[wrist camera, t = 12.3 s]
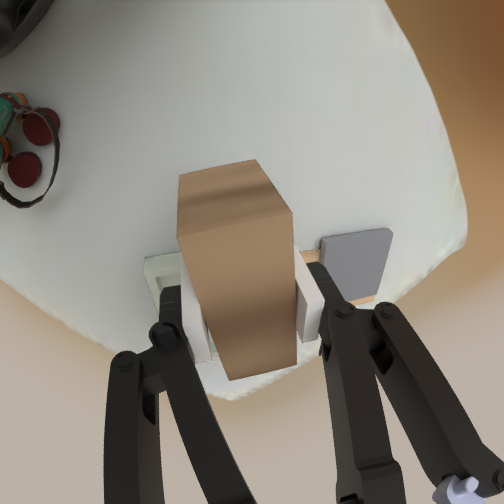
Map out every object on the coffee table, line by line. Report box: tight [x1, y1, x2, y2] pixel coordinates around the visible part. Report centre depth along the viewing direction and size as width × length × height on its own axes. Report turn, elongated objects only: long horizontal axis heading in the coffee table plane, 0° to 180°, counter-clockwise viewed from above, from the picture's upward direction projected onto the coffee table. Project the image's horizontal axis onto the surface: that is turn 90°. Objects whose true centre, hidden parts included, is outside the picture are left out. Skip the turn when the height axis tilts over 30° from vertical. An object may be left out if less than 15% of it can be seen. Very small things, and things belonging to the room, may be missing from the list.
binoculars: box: [0, 92, 60, 208], centre depth 15 cm, size 9×11×10 cm
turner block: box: [177, 159, 297, 381], centre depth 15 cm, size 10×4×6 cm, turn 7°
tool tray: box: [143, 252, 219, 357], centre depth 34 cm, size 16×11×2 cm
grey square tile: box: [319, 228, 393, 302], centre depth 34 cm, size 1×9×10 cm
